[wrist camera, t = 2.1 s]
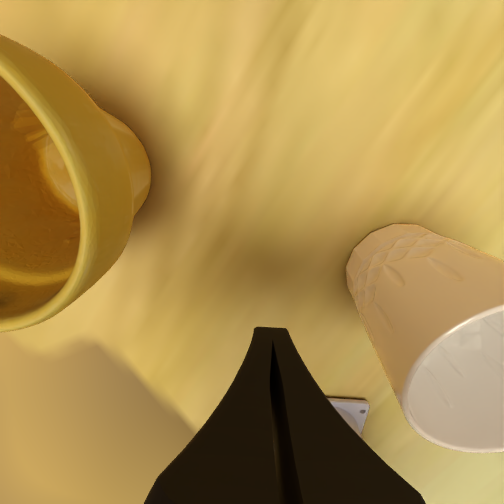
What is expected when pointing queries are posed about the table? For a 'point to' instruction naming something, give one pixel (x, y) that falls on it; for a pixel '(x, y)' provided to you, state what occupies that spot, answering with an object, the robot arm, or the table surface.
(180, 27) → the table surface
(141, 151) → the plant pot
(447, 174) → the table surface
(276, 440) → the robot arm
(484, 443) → the beige tapered cylinder
